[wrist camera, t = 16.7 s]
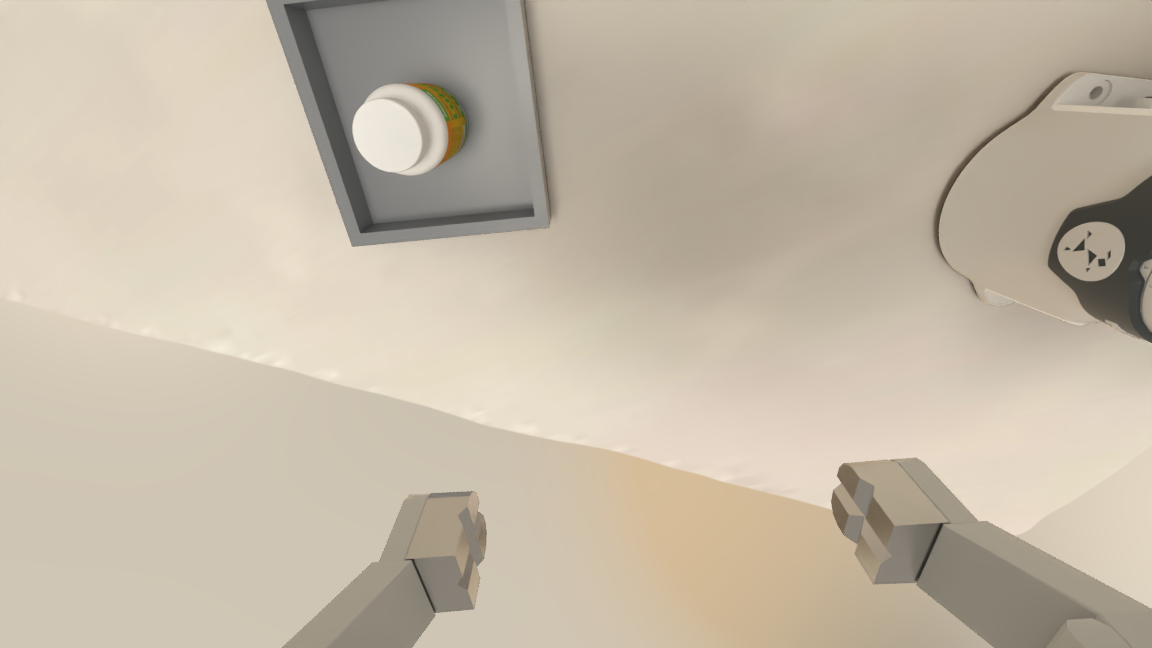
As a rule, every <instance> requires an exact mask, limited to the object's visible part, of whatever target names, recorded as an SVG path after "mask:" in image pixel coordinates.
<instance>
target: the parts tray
mask: <svg viewBox="0 0 1152 648" xmlns="http://www.w3.org/2000/svg"><path fill="white" fill-rule="evenodd" d="M266 2H267V5H268V8H269V10H270V13H271V16H272V19H273V22H274V25H275V28H276V30H277V33H278V36H279V39H280V42H281V45H282V47H283V50H284V53H285V56H286V59H287V62H288V65H289V67H290V70H291V73H292V76H293V79H294V82H295V85H296V87H297V90H298V93H299V96H300V99H301V102H302V105H303V107H304V110H305V113H306V116H307V119H308V122H309V125H310V127H311V130H312V133H313V136H314V139H315V142H316V145H317V147H318V150H319V153H320V156H321V159H322V162H323V165H324V167H325V170H326V173H327V176H328V179H329V182H330V185H331V187H332V190H333V193H334V196H335V199H336V202H337V204H338V207H339V210H340V213H341V216H342V219H343V222H344V224H345V227H346V230H347V233H348V236H349V239H350V242H351V244H352V247H355V246H365V245H376V244H386V243H396V242H407V241H417V240H427V239H438V238H448V237H458V236H469V235H479V234H489V233H500V232H510V231H520V230H531V229H541V228H549V225H550V219H551V212H550V204H549V196H548V188H547V180H546V172H545V164H544V156H543V148H542V139H541V131H540V123H539V115H538V107H537V99H536V91H535V83H534V75H533V67H532V59H531V51H530V43H529V35H528V27H527V19H526V11H525V3H524V0H266ZM395 83H428V84H434V85H438V86H440V87H443V88H445V89H446V90H448V91H449V92H451V93H452V94H453V95H454V96H455V97H456V98H457V99H458V101H459V102H460V104H461V105H462V107H463V109H464V111H465V114H466V117H467V122H468V134H467V138H466V142H465V144H464V146H463V147H462V149H461V150H460V151H459V152H458V153H457V154H456V155H455V156H454V157H452V158H451V159H449V160H447V161H445V162H444V163H442V164H440V165H439V166H437V167H436V168H434V169H432V170H431V171H429V172H426V173H424V174H420V175H413V176H408V175H401V174H398V173H395V172H394V173H393V172H386V171H383V170H380V169H378V168H376V167H374V166H373V165H371V164H370V163H369V162H368V161H367V160H366V159H365V158H364V157H363V156H362V155H361V153H360V152H359V150H358V148H357V146H356V144H355V141H354V137H353V131H352V125H353V120H354V116H355V114H356V112H357V111H358V109H359V108H360V107H361V106H362V105H363V104H364V102H365V101H366V99H367V98H368V96H369V95H370V94H371V93H372V92H373V91H375V90H376V89H378V88H380V87H382V86H384V85H388V84H395Z"/></svg>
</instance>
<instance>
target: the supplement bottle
mask: <svg viewBox="0 0 1152 648" xmlns="http://www.w3.org/2000/svg"><path fill="white" fill-rule="evenodd" d="M352 131H353V137H354V141H355V144H356V146H357V148H358V150H359V152H360V153H361V155H362V156H363V157H364V158H365V159H366V160H367V161H368V162H369V163H370V164H371V165H373V166H374V167H376V168H378V169H380V170H383V171H386V172H393V173H394V172H395V173H398V174H401V175H408V176H413V175H420V174H424V173H426V172H429V171H431V170H432V169H434V168H436V167H437V166H439V165H440V164H442V163H444V162H445V161H447V160H449V159H451V158H452V157H454V156H455V155H456V154H457V153H458V152H459V151H460V150H461V149H462V147H463V146H464V144H465V142H466V138H467V134H468V122H467V117H466V114H465V111H464V109H463V107H462V105H461V104H460V102H459V101H458V99H457V98H456V97H455V96H454V95H453V94H452V93H451V92H449V91H448V90H446V89H445V88H443V87H440V86H438V85H434V84H428V83H395V84H388V85H384V86H382V87H380V88H378V89H376V90H375V91H373V92H372V93H371V94H370V95H369V96H368V98H367V99H366V101H365V102H364V104H363V105H362V106H361V107H360V108H359V109H358V111H357V112H356V114H355V116H354V120H353V125H352Z"/></svg>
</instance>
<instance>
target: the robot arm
mask: <svg viewBox="0 0 1152 648" xmlns="http://www.w3.org/2000/svg"><path fill="white" fill-rule="evenodd" d="M1092 90H1093V91H1092ZM1091 91H1092V93H1091ZM1090 93H1091V95H1090ZM939 242H940V247H941V250H942V253H943V255H944V257H945V259H946V260H947V262H948V263H949V264H950V266H951V267H952V268H953V269H954V270H956V271H957V272H959V273H960V274H962V275H963V276H965V277H966V278H968V279H969V280H970V281H971V282H972V283H973V285H974V287H975V290H976V292H977V294H978V296H979V298H980V299H981V300H982V301H983V302H985V303H988V304H990V305H993V306H1002V305H1006V304H1010V303H1014V302H1017V303H1019V304H1022V305H1024V306H1027V307H1029V308H1032V309H1034V310H1037V311H1039V312H1042V313H1044V314H1047V315H1049V316H1052V317H1054V318H1057V319H1059V320H1062V321H1065V322H1067V323H1070V324H1074V325H1081V326H1082V325H1085V324H1087V323H1097V322H1104V323H1106V324H1109V325H1111V327H1112V328H1115V329H1116V330H1118V331H1120V332H1122V333H1125V334H1127V335H1130V336H1132V337H1136V338H1138V339H1143V340H1146V341H1149V342H1151V343H1152V80H1148V79H1139V78H1131V77H1123V76H1114V75H1106V74H1097V73H1088V72H1077V73H1073V74H1071V75H1069V76H1068V77H1066V78H1065V79H1064V80H1062V81H1061V82H1060V83H1059V84H1058V85H1057V86H1056V87H1055V88H1054V89H1053V90H1052V91H1051V92H1050V93H1049V94H1048V95H1047V96H1046V97H1045V99H1044V100H1043V101H1042V102H1041V103H1040V104H1039V105H1038V106H1037V108H1036V109H1035V110H1034V111H1032V112H1031V113H1030V114H1029V115H1027V116H1026V117H1024V118H1023V119H1022V120H1020V121H1018V122H1017V123H1015V124H1014V125H1012V126H1011V127H1009V128H1008V129H1006V130H1005V131H1003V132H1002V133H1000V134H999V135H998V136H996V137H995V138H994V139H993V140H991V141H990V142H989V143H988V144H987V145H986V146H985V147H983V148H982V149H981V150H980V151H979V152H978V153H977V154H976V155H975V157H974V158H973V159H972V160H971V161H970V162H969V163H968V165H967V166H966V167H965V168H964V170H963V171H962V172H961V174H960V175H959V177H958V178H957V180H956V181H955V183H954V185H953V186H952V188H951V190H950V192H949V194H948V196H947V199H946V201H945V204H944V206H943V209H942V213H941V217H940V223H939ZM837 477H838V478H839V480H840V481H841V484H840V485H839V486H838V487H836V488H835V489H834V490H833V494H832V500H831V503H832V510H833V515H834V517H835V520H836V522H837V525H838V526H839V528H840V530H841V531H842V533H843V535H845V536H846V537H847V538H849V539H850V540H852V541H853V542H855V543H856V550H855V555H856V557H857V558H858V560H859V562H860V563H861V565H862V566H863V568H864V570H865V572H866V573H867V575H868V576H869V578H870V580H871V581H872V583H873V584H896V583H917V586H918V587H919V588H921V589H922V590H923V591H924V592H926V593H927V594H928V595H929V596H931V597H932V598H933V599H934V600H936V601H937V602H938V603H939V604H941V605H942V606H943V607H944V608H946V609H947V610H948V611H949V612H951V613H952V614H953V615H955V616H956V617H957V618H958V619H959V620H960V621H962V622H963V623H964V624H966V625H967V626H968V627H969V628H970V629H972V630H973V631H974V632H975V633H977V634H978V635H979V636H981V637H982V638H983V639H984V640H986V641H987V642H988V643H989V644H990V645H992V646H993V647H994V648H1152V609H1151V608H1149V607H1147V606H1145V605H1144V604H1142V603H1140V602H1138V601H1136V600H1134V599H1132V598H1130V597H1128V596H1126V595H1124V594H1123V593H1121V592H1119V591H1117V590H1115V589H1113V588H1111V587H1110V586H1108V585H1106V584H1104V583H1102V582H1100V581H1098V580H1096V579H1094V578H1093V577H1091V576H1089V575H1087V574H1085V573H1083V572H1081V571H1080V570H1078V569H1076V568H1074V567H1072V566H1070V565H1068V564H1066V563H1064V562H1063V561H1061V560H1059V559H1056V558H1055V557H1053V556H1051V555H1049V554H1047V553H1046V552H1044V551H1042V550H1040V549H1038V548H1036V547H1034V546H1032V545H1030V544H1029V543H1027V542H1025V541H1023V540H1021V539H1019V538H1017V537H1015V536H1014V535H1012V534H1010V533H1008V532H1006V531H1004V530H1002V529H1000V528H999V527H997V526H995V525H993V524H991V523H989V522H987V521H978V520H977V519H976V518H975V517H974V516H973V515H972V514H971V513H970V511H969V510H968V509H967V508H966V507H965V506H964V505H963V504H962V503H961V502H960V501H959V500H958V499H957V498H956V497H955V495H954V494H953V493H952V492H951V491H950V490H949V489H948V488H947V487H946V486H945V485H944V484H943V483H942V482H941V480H940V479H939V478H938V477H937V476H936V475H935V474H934V473H933V472H932V471H931V470H930V469H929V468H928V467H927V466H926V464H925V463H924V462H922V461H921V460H919V459H917V458H905V459H892V460H877V461H865V462H854V463H843V464H842V465H841V466H840V467H839V470H838V474H837ZM478 506H479V499H478V496H477V493H476V492H474V491H471V492H449V493H431V494H415V495H409V496H408V497H407V498H406V499H405V501H404V502H403V505H402V507H401V510H400V512H399V515H398V517H397V519H396V522H395V524H394V527H393V529H392V532H391V534H390V537H389V539H388V541H387V544H386V546H385V549H384V551H383V553H382V556H381V558H380V561H379V562H374V563H371V564H370V565H369V566H368V567H367V568H366V569H365V570H364V571H363V572H362V573H361V574H360V575H359V576H358V577H357V578H356V579H354V580H353V581H352V582H351V583H350V584H349V585H348V586H347V587H346V588H345V589H344V590H343V591H342V592H341V593H340V594H339V595H337V596H336V597H335V598H334V599H333V600H332V601H331V602H330V603H329V604H328V605H327V606H326V607H325V608H324V609H323V610H322V611H320V612H319V613H318V614H317V615H316V616H315V617H314V618H313V619H312V620H311V621H310V622H309V623H308V624H307V625H306V626H304V627H303V628H302V629H301V630H300V631H299V632H298V633H297V634H296V635H295V636H294V637H293V638H292V639H291V640H290V641H289V642H287V643H286V644H285V645H284V646H283V647H282V648H412V647H413V646H414V644H415V643H416V641H417V640H418V639H419V637H420V636H421V635H422V633H423V632H424V631H425V629H426V628H427V626H428V625H429V624H430V622H431V621H432V619H433V618H434V617H435V613H439V612H448V611H449V612H450V611H461V610H471V609H474V608H475V603H476V597H477V592H478V587H479V582H480V576H479V573H478V570H477V566H478V565H479V564H480V563H481V562H482V560H483V559H484V555H485V550H486V534H487V533H486V523H485V519H484V516H483V515H482V514H481V513H480V512H478Z"/></svg>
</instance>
